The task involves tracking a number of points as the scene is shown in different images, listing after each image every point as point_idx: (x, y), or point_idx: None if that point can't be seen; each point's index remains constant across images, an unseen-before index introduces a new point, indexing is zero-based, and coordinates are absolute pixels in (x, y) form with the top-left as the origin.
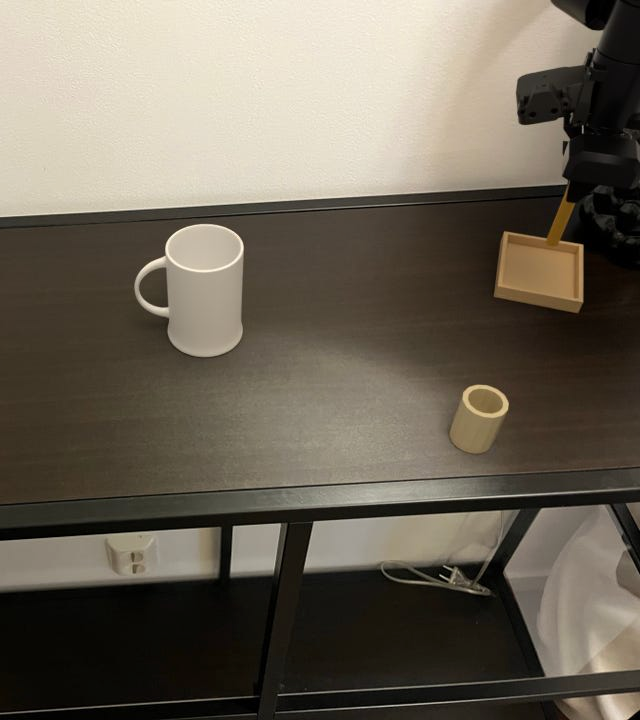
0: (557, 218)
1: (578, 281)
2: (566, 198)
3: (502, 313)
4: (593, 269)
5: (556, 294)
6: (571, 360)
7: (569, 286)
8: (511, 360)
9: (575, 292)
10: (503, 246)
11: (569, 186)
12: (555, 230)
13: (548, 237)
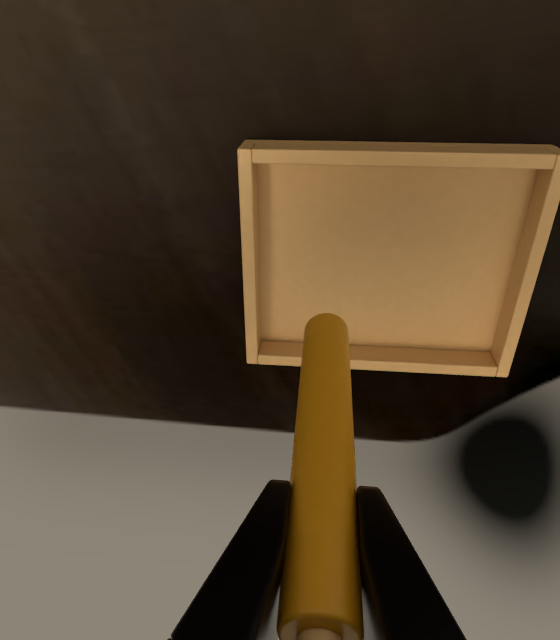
0: (308, 391)
1: None
2: (261, 493)
3: (181, 169)
4: (440, 381)
5: (296, 303)
6: (85, 323)
7: None
8: (10, 199)
9: None
10: (470, 156)
11: (211, 573)
12: (302, 364)
13: (317, 328)
